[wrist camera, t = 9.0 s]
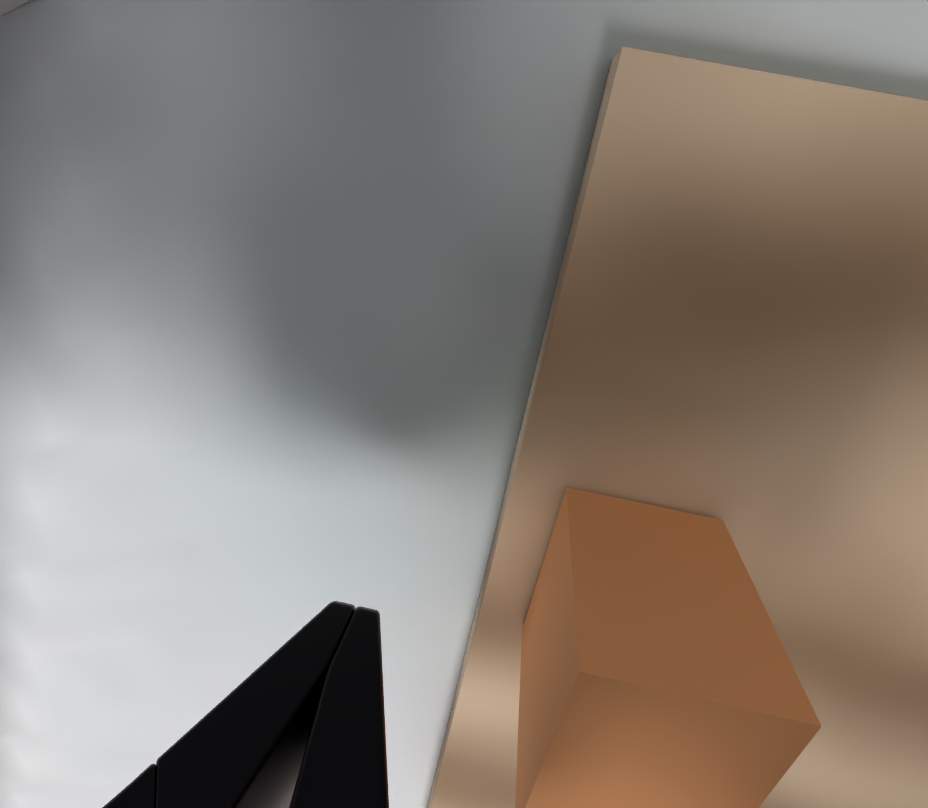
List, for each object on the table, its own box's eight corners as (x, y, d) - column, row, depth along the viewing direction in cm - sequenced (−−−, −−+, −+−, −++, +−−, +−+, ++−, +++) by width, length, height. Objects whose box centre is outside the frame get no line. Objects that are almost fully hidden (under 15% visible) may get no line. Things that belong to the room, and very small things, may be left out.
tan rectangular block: (654, 659, 12) (702, 880, 8) (522, 629, 12) (514, 835, 8) (722, 519, 10) (821, 726, 7) (566, 487, 10) (579, 671, 7)
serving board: (962, 941, 18) (990, 993, 16) (425, 812, 18) (418, 854, 17) (1883, 284, 8) (2104, 309, 6) (612, 59, 8) (622, 46, 7)
